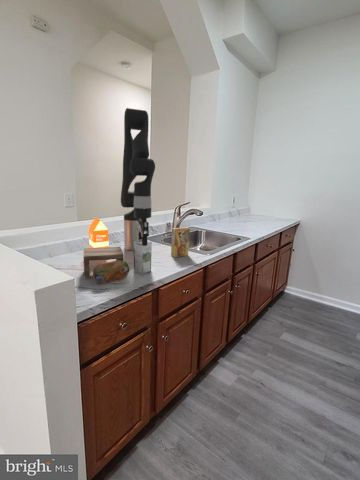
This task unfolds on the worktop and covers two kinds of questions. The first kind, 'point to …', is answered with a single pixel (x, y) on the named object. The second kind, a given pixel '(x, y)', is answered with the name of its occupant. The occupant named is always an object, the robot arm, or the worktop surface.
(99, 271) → the tin
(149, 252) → the syrup box
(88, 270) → the walnut shelf
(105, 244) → the orange juice
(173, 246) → the candy box
